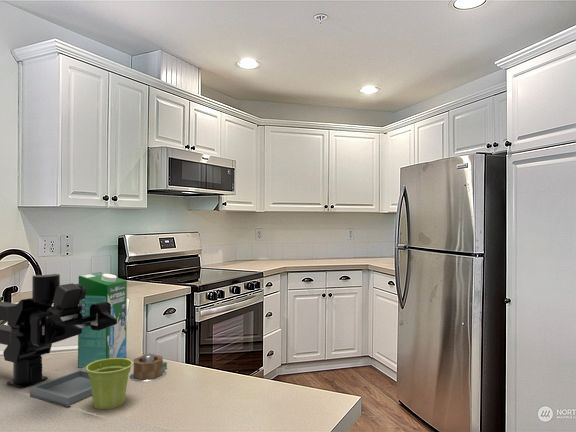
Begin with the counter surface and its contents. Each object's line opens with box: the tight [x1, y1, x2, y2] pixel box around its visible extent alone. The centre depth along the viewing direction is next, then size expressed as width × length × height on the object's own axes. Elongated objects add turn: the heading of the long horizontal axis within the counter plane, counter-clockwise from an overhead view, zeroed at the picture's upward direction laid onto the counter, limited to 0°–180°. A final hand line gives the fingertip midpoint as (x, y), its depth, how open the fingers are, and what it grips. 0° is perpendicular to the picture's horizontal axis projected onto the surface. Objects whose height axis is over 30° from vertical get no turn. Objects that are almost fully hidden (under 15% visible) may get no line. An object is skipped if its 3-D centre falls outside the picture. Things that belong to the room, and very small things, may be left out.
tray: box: [29, 369, 92, 408], centre depth 98 cm, size 13×13×2 cm
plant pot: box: [85, 357, 134, 410], centre depth 91 cm, size 9×9×9 cm
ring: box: [133, 354, 168, 381], centre depth 108 cm, size 7×9×4 cm
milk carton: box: [77, 271, 128, 368], centre depth 117 cm, size 9×9×25 cm
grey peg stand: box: [128, 353, 167, 383], centre depth 107 cm, size 9×9×5 cm
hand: (99, 326), depth 92 cm, fingers open, 9 cm apart
